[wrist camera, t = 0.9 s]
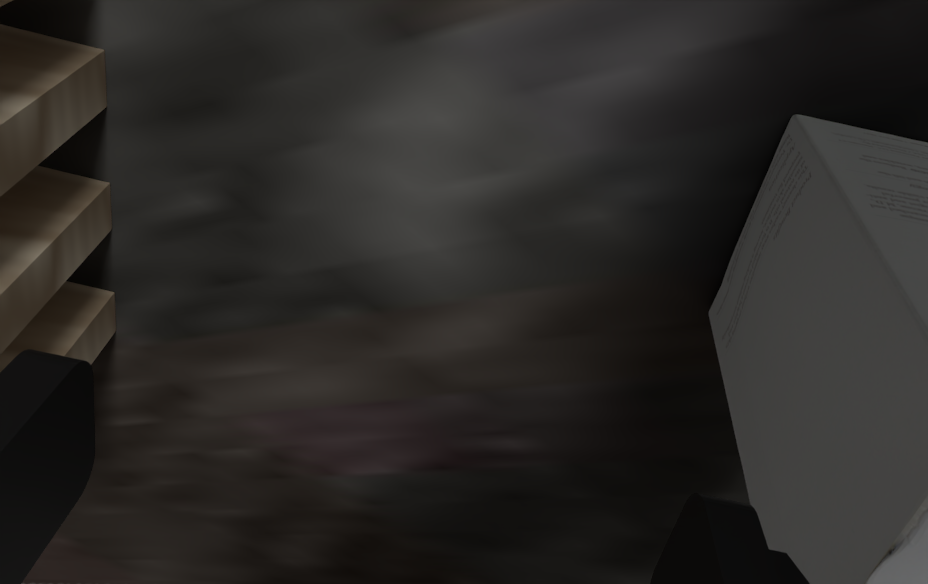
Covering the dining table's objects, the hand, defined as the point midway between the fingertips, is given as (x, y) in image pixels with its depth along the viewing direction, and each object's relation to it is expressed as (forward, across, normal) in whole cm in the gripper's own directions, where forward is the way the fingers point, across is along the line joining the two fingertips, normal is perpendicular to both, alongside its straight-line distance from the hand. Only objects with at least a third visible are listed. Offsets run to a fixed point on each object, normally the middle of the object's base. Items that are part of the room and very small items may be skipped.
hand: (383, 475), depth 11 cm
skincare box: (+18, -12, +2) cm, 22 cm away
